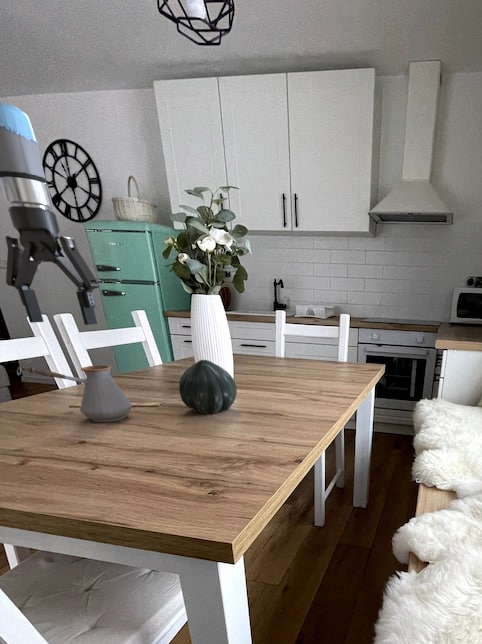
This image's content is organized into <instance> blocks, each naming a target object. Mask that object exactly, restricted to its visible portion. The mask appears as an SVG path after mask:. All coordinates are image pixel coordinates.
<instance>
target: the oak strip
mask: <svg viewBox="0 0 482 644" xmlns="http://www.w3.org/2000/svg"><path fill="white" fill-rule="evenodd" d="M81 403H82V402H74V403H71V404H69V405H68V407H69V408H81ZM161 403H162V402H131V404H132V406H150V407H159V406H161V405H162V404H161ZM160 404H161V405H160Z"/></svg>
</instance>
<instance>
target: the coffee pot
mask: <svg viewBox="0 0 482 644" xmlns="http://www.w3.org/2000/svg"><path fill="white" fill-rule="evenodd" d="M111 369H112V366H110V365H89V366H83V367H81V369H80V370H81V371H82V372H83V374H84V375H85V376H86V377H85V378H84V379H83V378H80V377H76V376H75V377H74V376H69V375H65V374H62V373H59V372H54V371H51V370H47V369H38V368H34V367H32V366H31V367H27V366H26V365H25V366H24V365H18V367H17V370H16V375H17V376H21V374H22V371H28V372H29V373H31V374H32V373H36V374H38V375H42V376H45V377H52V378H56V379H62V380H69V381H73V382H78V383H81V384H84V389H83V393H82V399H81V402H80V403H81V407H79V410H80V412H81V414H82V415H83V416H85V417H86V418H88V419H91V420H92V422H97V423H98V422H99V423H108V422H115V421H119V420H122V419H125V418H126V417H127V415H128V414H129V413H131V410H132V408H133V407H132V404H131V403H132V402H131V401H130V399H129V398H128V397H127V396H126V394H125V393H124V392H123V390H122V388H121V387H120V386H119V384H117V382H116V381H115V379H114V378H113V376H112V375H111Z"/></svg>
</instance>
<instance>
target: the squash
mask: <svg viewBox="0 0 482 644" xmlns="http://www.w3.org/2000/svg"><path fill="white" fill-rule="evenodd" d="M178 388H179V389H178V391H179V396H180V399H181V401H182V403H184V405H185V406H186V407H188V408H189V409H191V410H194V411H198V412H199V413H200V414H205V415H207V414H208V413H211V414H218V413H219V411H220V412H225V411H228V410H229V409H230V408H231V407H232V405H233V404H234V403H235V401H236V397H237V393H238V389H237V384H236V381H235V379H234V378H233V376H232V375H231V374H230V373H229V372H228V371H227V370H226V369H224V368H223V367H222V366H220V365H218V364H216V363H214V362H212V361H210V360H208V359H200V360H198V361H196V362H195V363H193V364H192V365H191V366H189V368H187V369H186V370H185V371H184V372H183V373H182V375H181V377H180V379H179V386H178Z"/></svg>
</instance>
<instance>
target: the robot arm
mask: <svg viewBox="0 0 482 644" xmlns="http://www.w3.org/2000/svg"><path fill="white" fill-rule="evenodd" d="M38 145H39V142H38V141H37V138H36V135H35V133H34V129H33V127H32V123H31V120H30V117H29V116H28V114H26V113H25V111H23V110H22V109H20V108H18V107H16V106H14V105H11V104H9V103H5V102H1V101H0V188H1V191H2V195H3V198H4V201H5V203H6V204H7V205H10V206H9V207H8V209H7V211H8V213H9V217H10V220H11V224H12V227H13V229H15V230H16V231H17V232H18V234H19V236H11V235H6V236H5V243H6V246H7V254H6V255H7V256H6V257H7V258H6V275H5V283H6V285H7V286H9V287H13V288H15V289H16V290H17V292H18V294H19V295H18V296H19V298H20V302H21V304H22V305H23V306H24V308H25V311H26V314H27V318H28V320H29V323H31V324H33V323H44V317H43V314H42V311H41V307H40V305H39V301H38V298H37V294H36V291H35V290H34V288H33V287H32V284H33V280H34V278H35V275H36V273H37V270H38V268H39V265H40V264H41V263H53V264H55V265H56V266H57V267H58V268H59V269H60V270H61V271H62V272H63V274H64V275H65V276H66V277H67V278H68V279H69V280H70V281H71V283H73V284H74V285H75V286H76V288H77V290H76V291H75V292H76V296H77V301H78V304H79V308H80V311H81V316H82V320H83V323H84V326H90V325H98V321H97V318H96V313H95V310H94V308H96V303H95V299H94V294H93V291H94V290H95V289H99V288H100V283H99V282H98V280H97V278H96V277H95V275H94V273H93V272H92V270H91V269H90V267H89V266H88V263H86V261H85V259H84V258H83V256H82V254H81V252H80V251H79V249H78V247H77V243H76V241H75V239H74V237H69V236H63V235H62V236H61V235H60V236H59V233H60V231H61V230H60V227H59V223H58V219H57V214H56V213H55V212H54V211H52V210H53V209H54V205H53V201H52V197H51V192H50V189H49V185H48V181H47V179H46V174H45V172H44V171H45V170H44V166H43V163H42V158H41V154H40V150H39V146H38ZM62 250H63V251H62Z"/></svg>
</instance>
